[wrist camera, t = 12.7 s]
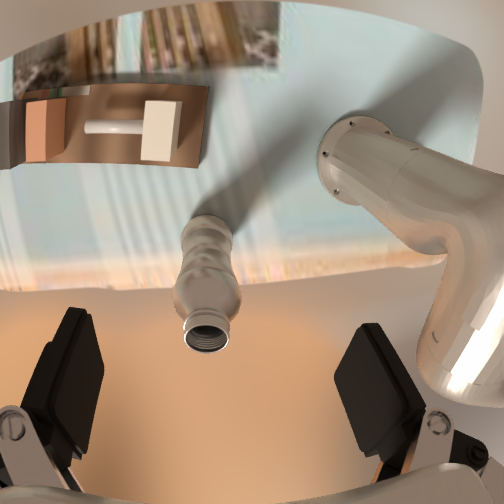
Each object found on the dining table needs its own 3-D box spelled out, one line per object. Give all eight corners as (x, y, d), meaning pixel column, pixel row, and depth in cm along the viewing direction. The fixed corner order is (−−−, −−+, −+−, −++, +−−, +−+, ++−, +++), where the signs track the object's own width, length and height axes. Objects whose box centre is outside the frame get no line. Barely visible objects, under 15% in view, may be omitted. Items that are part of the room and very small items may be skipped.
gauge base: (208, 87, 31) (207, 84, 24) (198, 165, 36) (194, 183, 29) (24, 92, 27) (-10, 96, 20) (23, 161, 31) (-9, 178, 24)
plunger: (182, 101, 30) (176, 102, 25) (176, 151, 33) (169, 161, 28) (97, 100, 28) (76, 102, 23) (94, 147, 31) (74, 158, 26)
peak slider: (67, 87, 27) (47, 87, 22) (64, 151, 31) (45, 161, 26) (48, 89, 26) (27, 90, 22) (45, 152, 30) (26, 161, 26)
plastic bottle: (184, 207, 39) (164, 305, 21) (235, 212, 40) (254, 312, 23) (180, 250, 42) (165, 361, 24) (228, 254, 43) (241, 366, 26)
